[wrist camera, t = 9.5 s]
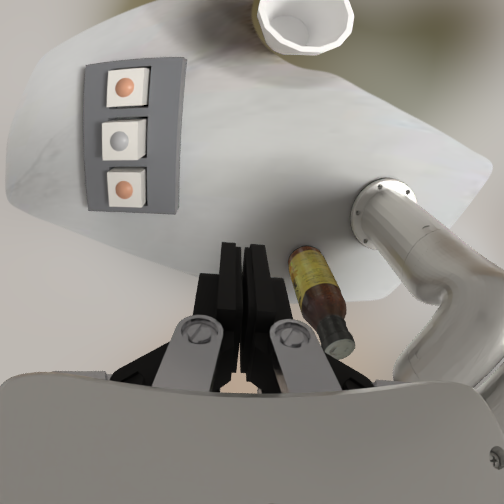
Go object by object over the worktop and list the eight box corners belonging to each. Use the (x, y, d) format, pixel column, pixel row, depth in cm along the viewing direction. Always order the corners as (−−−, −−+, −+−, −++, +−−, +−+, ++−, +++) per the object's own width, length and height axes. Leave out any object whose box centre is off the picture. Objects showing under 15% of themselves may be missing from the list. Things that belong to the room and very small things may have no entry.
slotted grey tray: (186, 59, 33) (183, 57, 31) (178, 207, 44) (175, 214, 41) (94, 66, 32) (85, 65, 29) (96, 203, 43) (88, 210, 40)
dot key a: (148, 165, 40) (140, 172, 36) (149, 197, 42) (141, 207, 39) (117, 165, 39) (106, 172, 36) (118, 196, 42) (109, 206, 38)
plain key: (147, 118, 35) (137, 121, 32) (146, 153, 38) (137, 160, 34) (113, 119, 35) (101, 123, 31) (113, 154, 37) (102, 160, 34)
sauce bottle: (279, 259, 49) (300, 350, 32) (309, 236, 48) (347, 321, 30) (301, 283, 52) (328, 372, 35) (330, 262, 50) (370, 347, 33)
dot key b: (152, 70, 33) (144, 67, 29) (150, 104, 35) (141, 105, 32) (119, 72, 32) (108, 70, 29) (117, 105, 35) (106, 107, 31)
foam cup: (237, 30, 31) (238, 3, 20) (288, -5, 29) (308, -40, 17) (284, 77, 35) (305, 70, 24) (333, 42, 32) (371, 25, 21)
